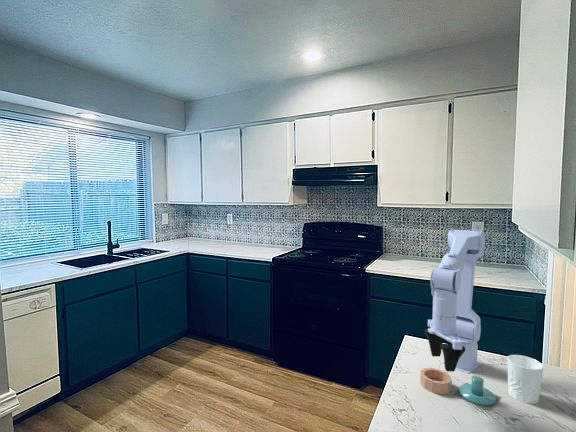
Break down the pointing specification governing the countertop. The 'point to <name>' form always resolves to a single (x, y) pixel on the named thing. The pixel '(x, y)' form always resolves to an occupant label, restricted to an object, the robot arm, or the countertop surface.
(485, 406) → the mat
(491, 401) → the lid
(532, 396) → the white cup
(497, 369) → the countertop surface
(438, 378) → the bowl
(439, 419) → the countertop surface
